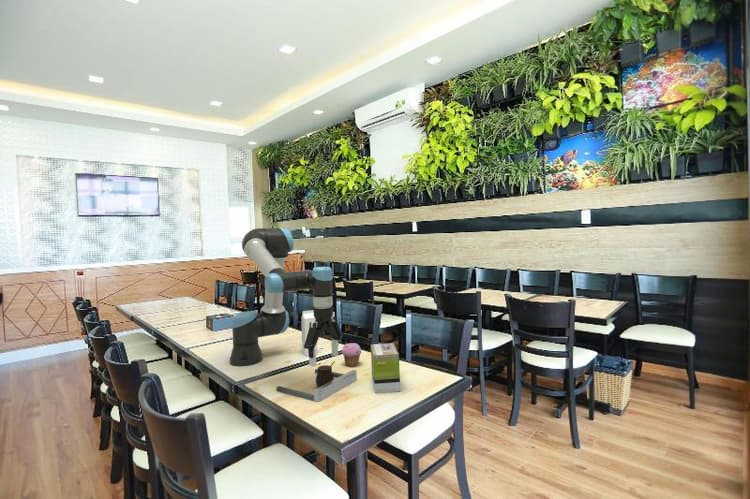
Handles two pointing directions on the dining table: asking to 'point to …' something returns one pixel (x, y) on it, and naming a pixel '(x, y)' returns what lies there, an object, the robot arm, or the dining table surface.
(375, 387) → the tea box
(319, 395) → the u-shaped bar frame
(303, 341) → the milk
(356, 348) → the cupcake
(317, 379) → the mate gourd
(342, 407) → the dining table surface
